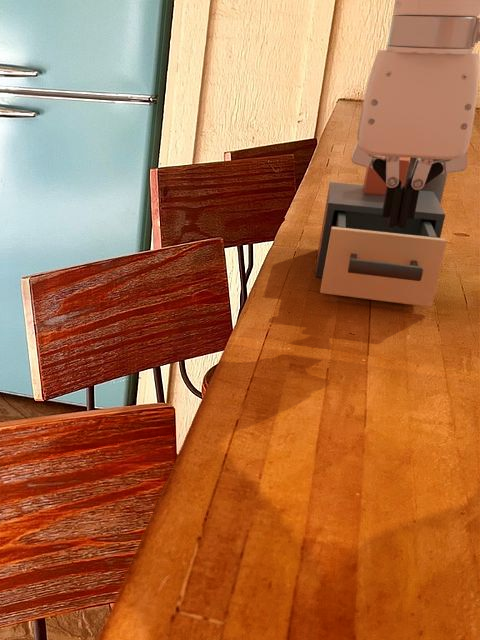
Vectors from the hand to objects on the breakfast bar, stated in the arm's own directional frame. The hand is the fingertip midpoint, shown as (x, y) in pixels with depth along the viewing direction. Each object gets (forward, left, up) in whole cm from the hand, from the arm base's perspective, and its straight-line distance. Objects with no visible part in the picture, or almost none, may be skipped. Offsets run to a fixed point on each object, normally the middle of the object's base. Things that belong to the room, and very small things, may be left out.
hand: (396, 224), depth 92 cm
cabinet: (-3, -18, -10) cm, 21 cm away
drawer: (-1, -6, -9) cm, 11 cm away
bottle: (-11, -32, -10) cm, 36 cm away
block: (-3, -22, -1) cm, 22 cm away
